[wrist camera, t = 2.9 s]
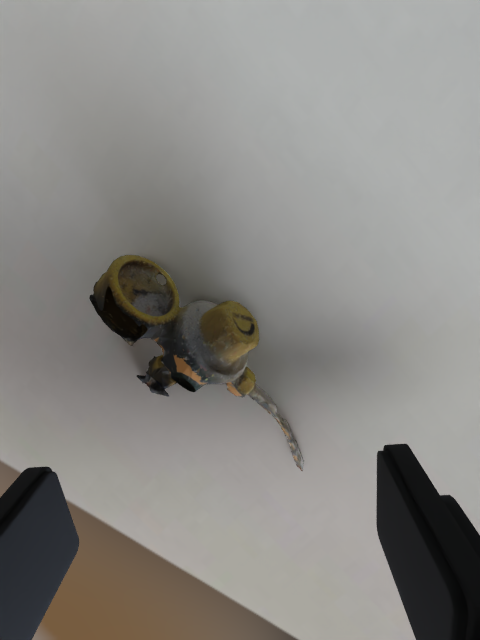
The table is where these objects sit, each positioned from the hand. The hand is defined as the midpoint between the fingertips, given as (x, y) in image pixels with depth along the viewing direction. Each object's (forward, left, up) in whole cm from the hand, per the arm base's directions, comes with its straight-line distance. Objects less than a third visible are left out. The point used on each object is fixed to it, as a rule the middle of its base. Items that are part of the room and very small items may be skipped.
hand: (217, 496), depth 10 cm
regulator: (0, 0, -9) cm, 9 cm away
